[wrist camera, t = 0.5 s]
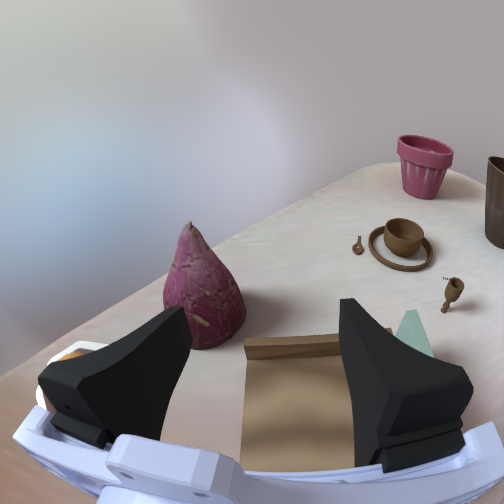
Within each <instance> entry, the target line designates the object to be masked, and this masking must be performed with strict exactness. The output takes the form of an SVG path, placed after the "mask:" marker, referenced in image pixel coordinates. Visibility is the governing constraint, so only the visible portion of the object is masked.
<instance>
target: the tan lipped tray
mask: <svg viewBox="0 0 504 504" xmlns="http://www.w3.org/2000/svg"><path fill="white" fill-rule="evenodd" d="M385 329H386V330H387V331H388V332H390V333H391V334H392V335H393V333H392V330H391V328H385ZM244 349H245V353H246V357H247V369H246V383H245V396H244V410H243V424H242V437H241V450H240V464H239V465H240V466H241V467H242V468H243V470H244V471H256V472H314V471H329V470H340V469H349V468H354V429H353V415H352V404H351V397H350V391H349V387H348V383H347V378H346V374H345V370H344V366H343V362H342V358H341V352H340V344H339V333H338V334H325V335H311V336H293V337H267V338H244Z"/></svg>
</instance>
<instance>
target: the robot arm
mask: <svg viewBox="0 0 504 504" xmlns="http://www.w3.org/2000/svg"><path fill="white" fill-rule="evenodd" d="M192 342H193V337H192V334H191V331H190V327H189V324H188V321H187V317H186V314H185V310H184V307H183V306H171V307H169V308H167V309H166V310H164V311H163V312H161V313H160V314H158V315H157V316H155V317H154V318H152V319H151V320H150V321H148V322H147V323H145V324H144V325H142V326H141V327H139V328H138V329H136V330H134V331H133V332H131V333H130V334H128V335H127V336H125V337H123V338H121V339H120V340H118V341H116V342H114V343H112V344H110V345H108V346H105V347H103V348H100V349H98V350H96V351H93V352H91V353H88V354H85V355H81V356H78V357H74V358H70V359H66V360H60V361H55V362H51V363H50V364H49V365H48V366H47V367H46V368H45V369H44V370H43V372H42V373H41V374H40V375H39V376H38V383H39V386H40V388H41V390H42V391H43V393H44V394H45V396H46V397H47V398H48V400H49V401H50V402H51V404H52V405H53V406H54V407H55V409H56V410H57V412H56V413H55V415H54V414H52V413H51V412H50V411H48V410H46V409H44V408H42V407H40V406H38V405H35V407H34V408H33V409H32V411H31V412H30V413H29V415H28V416H27V417H26V419H25V420H24V421H23V423H22V424H21V425H20V427H19V428H18V430H17V431H16V432H15V434H14V435H13V439H14V440H15V441H16V442H17V443H18V444H19V445H20V446H21V447H22V448H23V449H24V450H25V451H26V452H27V453H28V454H29V455H30V456H31V457H32V458H33V459H34V460H36V461H37V462H38V463H39V464H40V465H41V466H42V467H44V468H45V469H47V470H48V471H50V472H51V473H53V474H55V475H56V476H58V477H59V478H61V479H63V480H64V481H66V482H68V483H69V484H71V485H73V486H74V487H76V488H78V489H80V490H81V491H83V492H85V493H87V494H89V495H91V496H92V497H94V498H96V499H98V501H97V503H96V504H466V503H468V502H470V501H473V500H475V499H477V498H479V497H480V496H481V495H483V494H484V493H485V492H487V491H488V490H489V489H491V488H492V487H493V486H495V485H496V484H497V483H498V482H500V481H501V480H502V479H503V478H504V446H503V443H502V441H501V438H500V436H499V433H498V431H497V428H496V426H495V424H494V422H493V421H489V422H487V423H485V424H482V425H480V426H478V427H475V428H473V429H470V430H468V431H467V432H466V433H464V434H463V435H462V432H461V429H460V428H461V427H462V426H463V422H462V420H461V417H460V416H461V415H462V413H463V412H464V410H465V408H466V407H467V405H468V403H469V402H470V399H471V397H472V395H473V389H474V388H473V386H472V384H471V381H470V379H469V377H468V375H467V374H466V372H465V370H464V369H463V367H461V366H458V365H454V364H451V363H447V362H444V361H441V360H438V359H436V358H433V357H431V356H428V355H426V354H424V353H422V352H420V351H418V350H416V349H414V348H412V347H411V346H409V345H407V344H405V343H404V342H402V341H401V340H399V339H398V338H396V337H395V336H394V335H392V334H391V333H390V332H388V331H387V330H386V329H385V328H383V327H382V326H381V325H380V324H379V323H378V322H377V321H376V320H375V319H374V318H372V317H371V316H370V315H369V314H368V313H367V312H366V310H365V309H364V308H363V307H362V306H361V305H360V304H359V303H358V302H357V301H356V300H355V299H354V298H349V299H340V316H339V344H340V352H341V358H342V362H343V366H344V370H345V374H346V378H347V383H348V387H349V391H350V397H351V404H352V415H353V429H354V468H349V469H340V470H329V471H314V472H256V471H244V470H243V468H242V467H241V466H240V465H239V464H238V463H237V462H236V461H235V460H234V459H233V458H230V457H228V456H226V455H223V454H221V453H219V452H214V451H210V450H205V449H201V448H194V447H188V446H182V445H176V444H171V443H166V442H161V441H160V436H161V431H162V427H163V423H164V419H165V415H166V411H167V408H168V405H169V401H170V398H171V395H172V393H173V390H174V388H175V386H176V384H177V382H178V379H179V377H180V375H181V373H182V371H183V368H184V366H185V364H186V362H187V359H188V357H189V353H190V350H191V346H192Z"/></svg>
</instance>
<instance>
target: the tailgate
mask: <svg viewBox="0 0 504 504" xmlns="http://www.w3.org/2000/svg"><path fill="white" fill-rule="evenodd" d="M395 337H396V338H398V339H399V340H401V341H402V342H404V343H405V344H407V345H409V346H411V347H412V348H414V349H416V350H418V351H420V352H422V353H424V354H426V355H428V356H431V357H433V358H434V355H433V352H432V349H431V346H430V344H429V341H428V338H427V335H426V333H425V330H424V327H423V325H422V322H421V320H420V317H419V315H418V312H417V310H408V311H406V312H405V315H404V317H403V319H402V322H401V324H400V326H399V328H398V331H397V333H396V335H395Z"/></svg>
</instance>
